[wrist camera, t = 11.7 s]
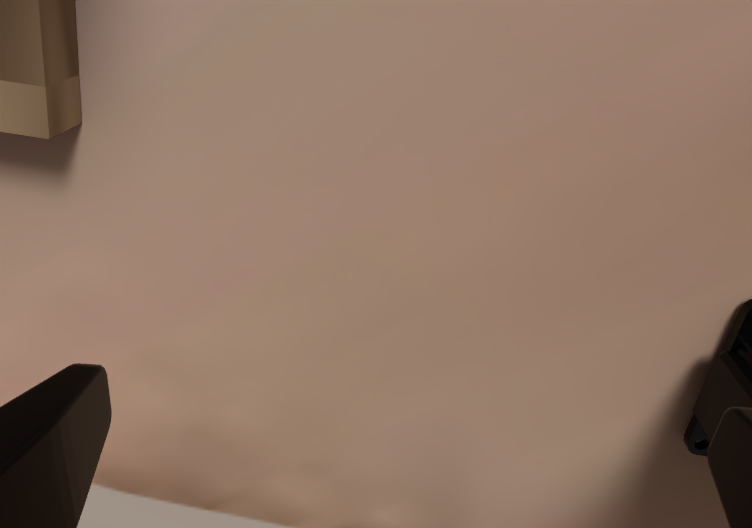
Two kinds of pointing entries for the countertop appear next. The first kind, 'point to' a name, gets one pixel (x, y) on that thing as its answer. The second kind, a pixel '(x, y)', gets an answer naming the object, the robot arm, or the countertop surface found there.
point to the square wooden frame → (38, 68)
